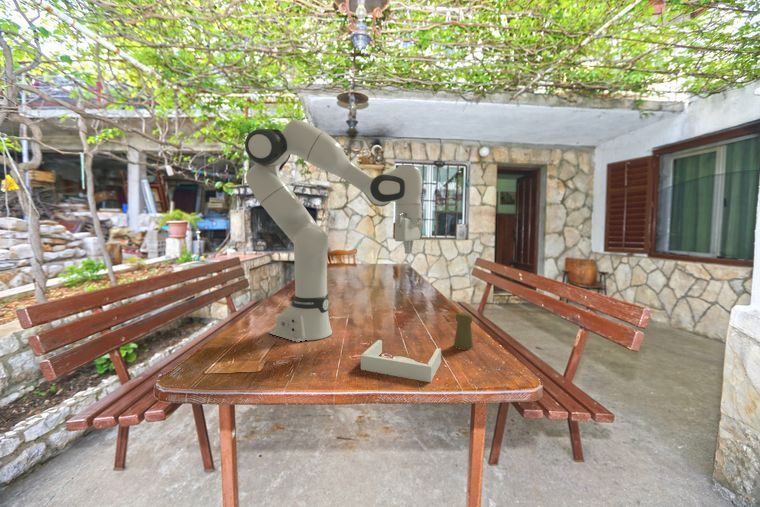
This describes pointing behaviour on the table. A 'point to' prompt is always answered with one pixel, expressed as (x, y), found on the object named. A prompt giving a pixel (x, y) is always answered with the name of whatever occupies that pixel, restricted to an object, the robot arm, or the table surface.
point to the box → (399, 364)
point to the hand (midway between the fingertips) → (408, 253)
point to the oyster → (404, 359)
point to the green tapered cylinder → (463, 331)
